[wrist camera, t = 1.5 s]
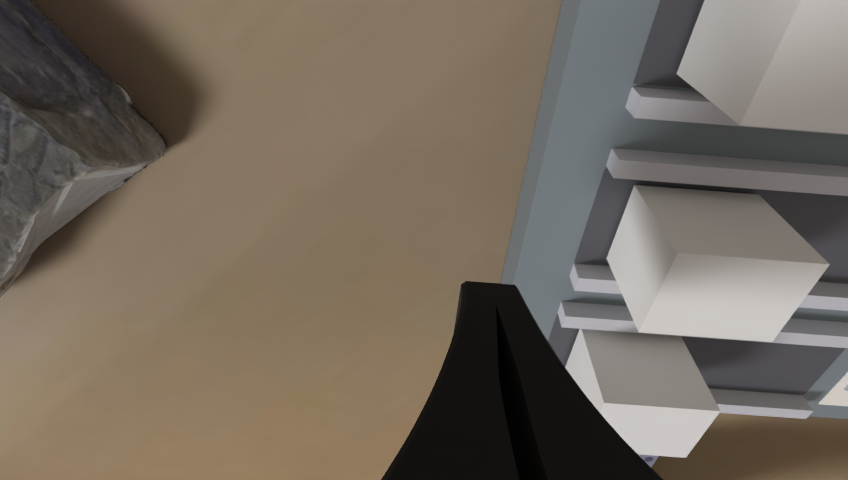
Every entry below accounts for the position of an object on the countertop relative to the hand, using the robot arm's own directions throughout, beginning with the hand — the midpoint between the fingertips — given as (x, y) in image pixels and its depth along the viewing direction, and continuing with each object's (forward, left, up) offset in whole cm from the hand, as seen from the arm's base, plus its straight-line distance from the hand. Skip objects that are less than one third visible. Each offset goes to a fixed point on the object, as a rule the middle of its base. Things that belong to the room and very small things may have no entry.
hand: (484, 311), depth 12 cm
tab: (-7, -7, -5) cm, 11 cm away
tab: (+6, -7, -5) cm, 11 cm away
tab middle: (0, -7, -5) cm, 8 cm away
